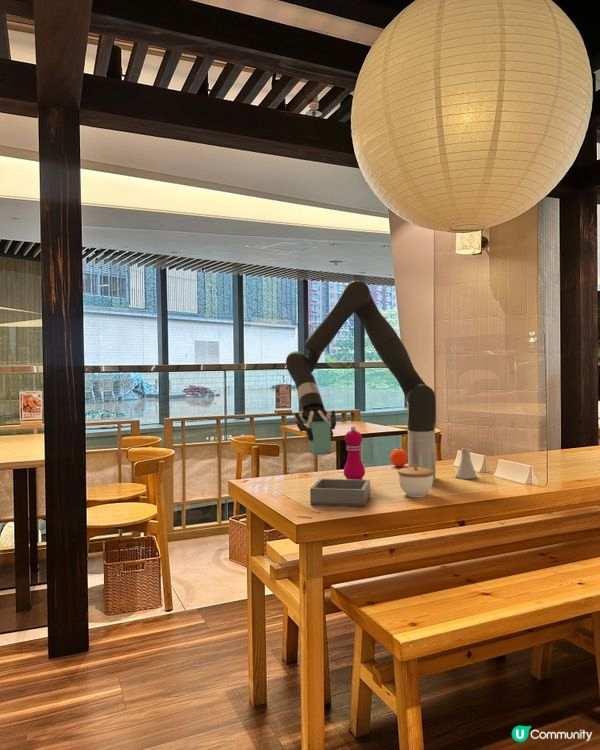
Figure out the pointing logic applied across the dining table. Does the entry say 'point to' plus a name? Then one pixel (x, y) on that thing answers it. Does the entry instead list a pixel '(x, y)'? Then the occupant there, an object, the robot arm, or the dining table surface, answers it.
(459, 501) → the dining table surface
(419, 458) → the robot arm
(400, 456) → the clementine
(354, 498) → the tray
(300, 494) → the dining table surface
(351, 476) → the pepper mill
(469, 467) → the flask
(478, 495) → the dining table surface
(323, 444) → the teal crate
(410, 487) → the lidded jar
